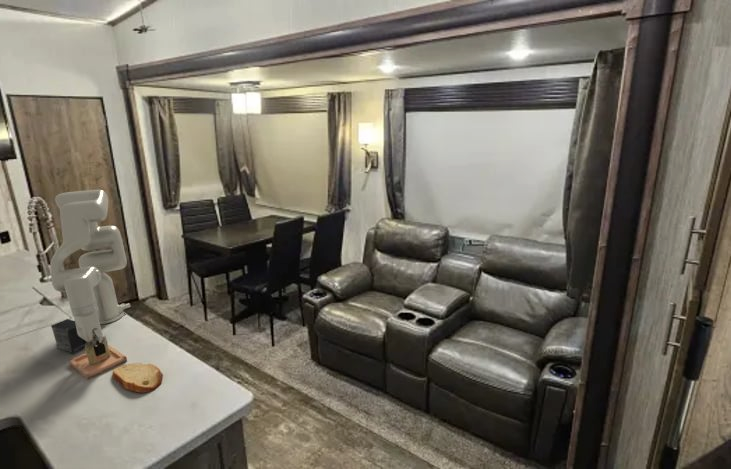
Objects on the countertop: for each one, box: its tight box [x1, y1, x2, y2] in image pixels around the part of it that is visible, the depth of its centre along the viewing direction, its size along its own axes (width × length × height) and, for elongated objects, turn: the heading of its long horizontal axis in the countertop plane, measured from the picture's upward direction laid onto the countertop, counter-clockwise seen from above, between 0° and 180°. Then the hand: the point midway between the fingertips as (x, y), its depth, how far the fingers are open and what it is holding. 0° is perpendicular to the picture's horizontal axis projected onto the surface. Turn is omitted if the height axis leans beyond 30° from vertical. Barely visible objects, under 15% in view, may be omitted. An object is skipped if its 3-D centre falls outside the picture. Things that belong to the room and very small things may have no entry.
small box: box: [50, 318, 85, 355], centre depth 155 cm, size 11×6×10 cm, turn 65°
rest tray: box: [68, 344, 128, 380], centre depth 146 cm, size 13×16×2 cm
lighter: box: [84, 335, 111, 365], centre depth 145 cm, size 7×4×10 cm, turn 144°
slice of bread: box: [111, 362, 164, 393], centre depth 135 cm, size 18×18×4 cm
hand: (95, 350), depth 145 cm, fingers open, 9 cm apart
